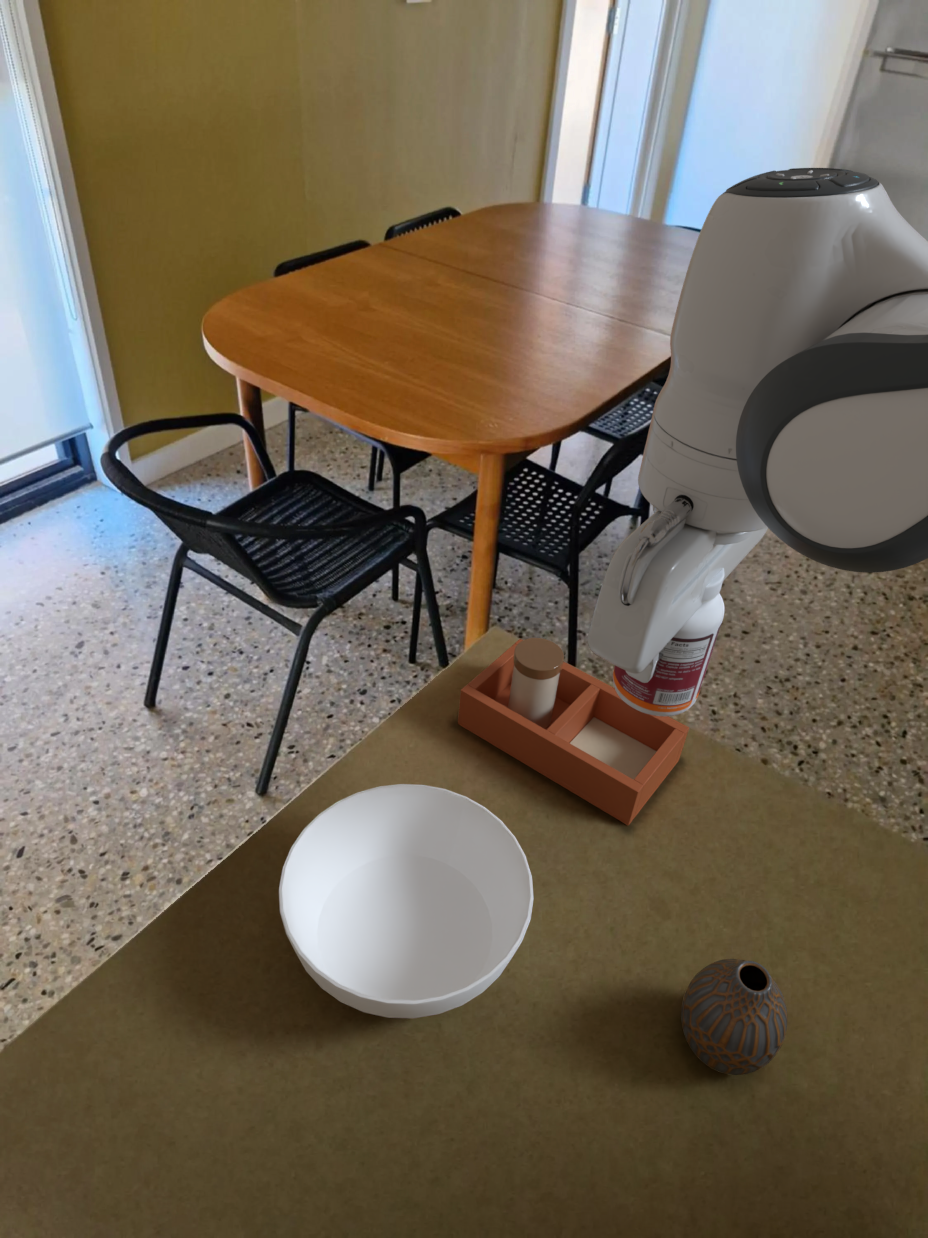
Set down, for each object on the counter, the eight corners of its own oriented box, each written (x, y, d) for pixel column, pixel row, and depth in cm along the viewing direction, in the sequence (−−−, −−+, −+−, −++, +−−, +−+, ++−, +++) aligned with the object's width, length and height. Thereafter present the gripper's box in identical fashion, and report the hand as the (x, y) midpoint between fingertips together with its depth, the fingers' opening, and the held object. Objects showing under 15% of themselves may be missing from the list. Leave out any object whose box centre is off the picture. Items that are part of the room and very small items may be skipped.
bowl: (233, 978, 65) (223, 923, 60) (368, 807, 78) (368, 751, 73) (453, 1107, 59) (460, 1057, 54) (559, 899, 72) (572, 844, 67)
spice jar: (549, 700, 89) (561, 638, 84) (554, 733, 85) (566, 671, 80) (504, 699, 89) (512, 636, 84) (507, 732, 85) (516, 669, 80)
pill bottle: (638, 648, 67) (670, 526, 60) (712, 688, 64) (754, 565, 57) (593, 689, 63) (622, 564, 56) (669, 734, 60) (709, 607, 53)
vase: (780, 1026, 65) (818, 962, 59) (753, 1110, 60) (792, 1050, 55) (690, 978, 67) (719, 912, 62) (658, 1055, 63) (686, 992, 57)
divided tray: (515, 671, 93) (520, 638, 90) (678, 761, 85) (689, 727, 82) (457, 724, 86) (460, 689, 84) (628, 826, 78) (638, 792, 75)
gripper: (691, 567, 44) (636, 754, 53) (825, 428, 57) (764, 596, 66) (582, 519, 47) (547, 705, 56) (735, 397, 60) (687, 562, 69)
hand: (666, 645), depth 61 cm, fingers closed on pill bottle, 6 cm apart
